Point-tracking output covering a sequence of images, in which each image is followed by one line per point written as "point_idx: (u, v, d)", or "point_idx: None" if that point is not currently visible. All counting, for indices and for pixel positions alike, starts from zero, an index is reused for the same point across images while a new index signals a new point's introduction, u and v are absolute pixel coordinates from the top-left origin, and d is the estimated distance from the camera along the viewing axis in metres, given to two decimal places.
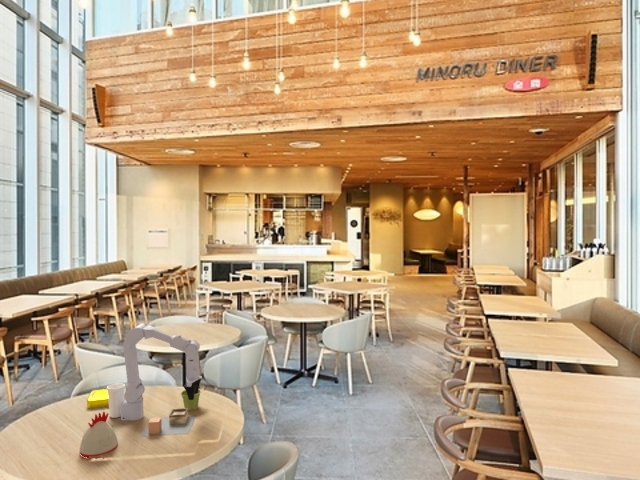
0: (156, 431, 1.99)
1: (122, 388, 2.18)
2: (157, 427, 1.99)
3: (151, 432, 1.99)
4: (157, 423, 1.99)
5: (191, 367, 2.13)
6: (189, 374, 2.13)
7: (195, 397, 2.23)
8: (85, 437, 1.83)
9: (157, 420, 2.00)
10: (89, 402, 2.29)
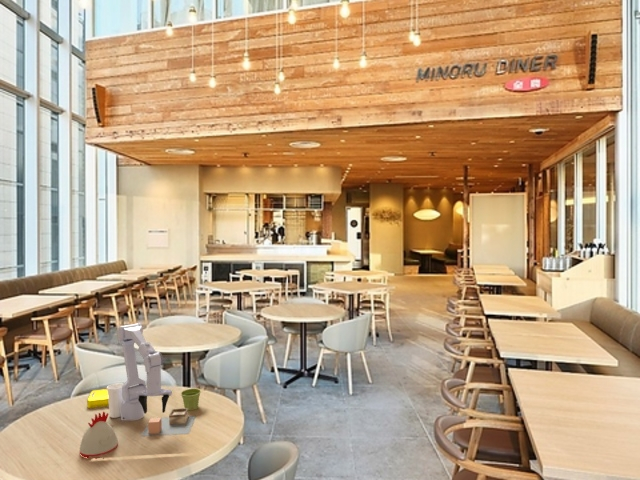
0: (156, 431, 1.99)
1: None
2: (157, 427, 1.99)
3: (151, 432, 1.99)
4: (157, 423, 1.99)
5: (147, 380, 1.98)
6: None
7: (195, 397, 2.23)
8: (85, 437, 1.83)
9: (157, 420, 2.00)
10: (89, 402, 2.29)
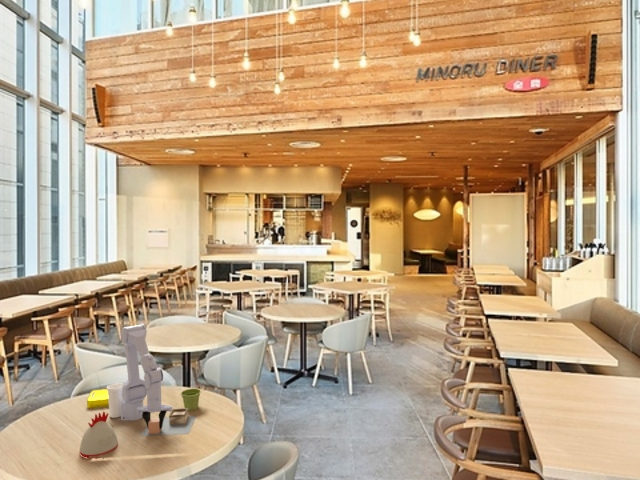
0: (156, 431, 1.99)
1: None
2: (157, 427, 1.99)
3: (151, 432, 1.99)
4: (157, 423, 1.99)
5: (147, 396, 1.98)
6: None
7: (195, 397, 2.23)
8: (85, 437, 1.83)
9: (157, 420, 2.00)
10: (89, 402, 2.29)
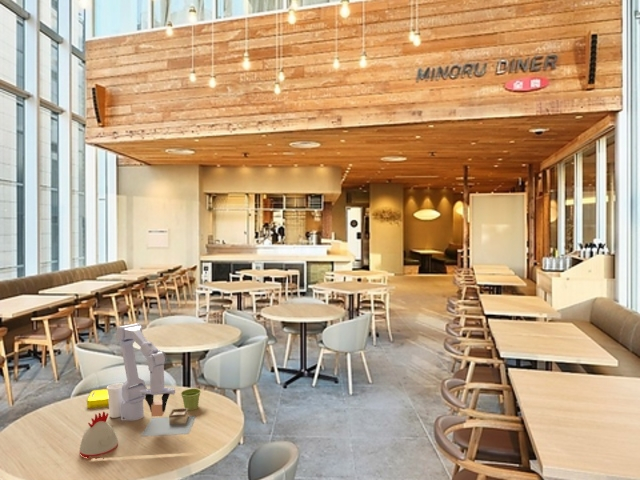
0: (159, 414, 2.00)
1: None
2: (160, 410, 2.00)
3: (154, 415, 2.00)
4: (160, 406, 2.00)
5: (151, 379, 1.99)
6: None
7: (195, 397, 2.23)
8: (85, 437, 1.83)
9: (160, 403, 2.01)
10: (89, 402, 2.29)
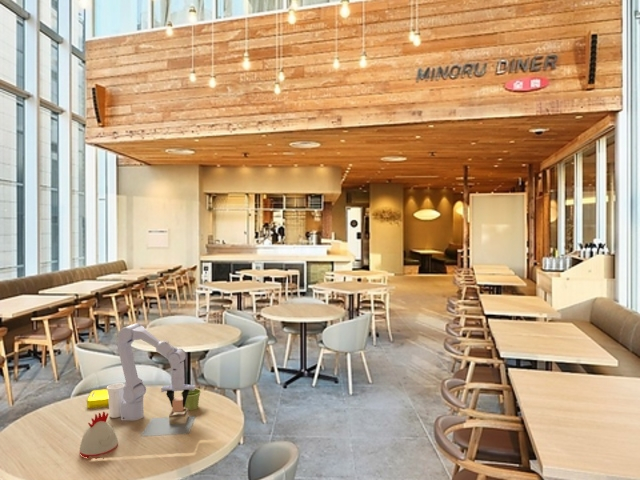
0: (180, 409, 2.09)
1: (122, 388, 2.18)
2: (181, 405, 2.09)
3: (175, 410, 2.09)
4: (181, 401, 2.09)
5: (174, 376, 2.08)
6: None
7: (195, 397, 2.23)
8: (85, 437, 1.83)
9: (180, 399, 2.11)
10: (89, 402, 2.29)
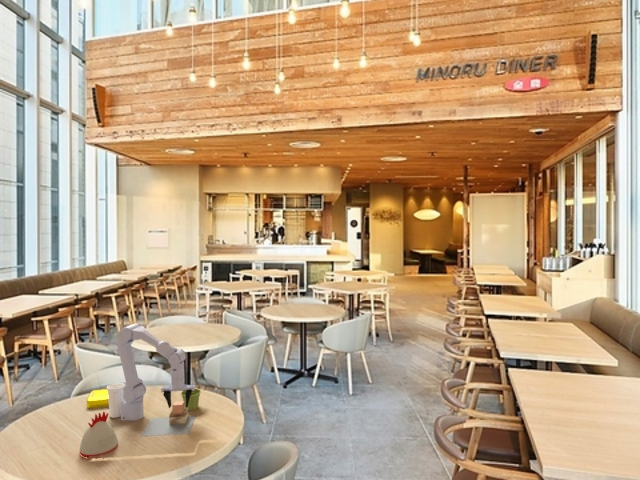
0: (180, 413, 2.09)
1: (122, 388, 2.18)
2: (181, 410, 2.09)
3: (175, 414, 2.09)
4: (181, 406, 2.09)
5: (174, 377, 2.08)
6: None
7: (195, 397, 2.23)
8: (85, 437, 1.83)
9: (180, 403, 2.11)
10: (89, 402, 2.29)
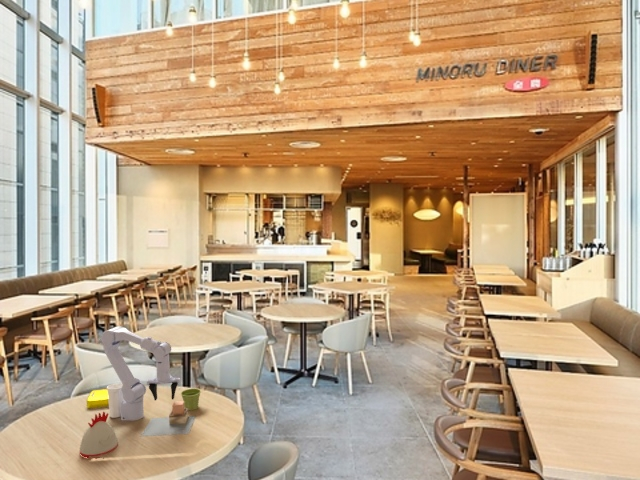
0: (180, 413, 2.09)
1: None
2: (181, 410, 2.09)
3: (175, 414, 2.09)
4: (181, 406, 2.09)
5: (159, 369, 2.09)
6: None
7: (195, 397, 2.23)
8: (85, 437, 1.83)
9: (180, 403, 2.11)
10: (89, 402, 2.29)
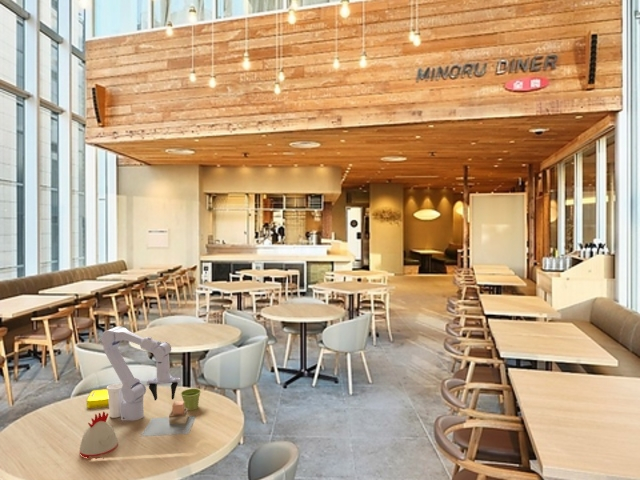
0: (180, 413, 2.09)
1: None
2: (181, 410, 2.09)
3: (175, 414, 2.09)
4: (181, 406, 2.09)
5: (159, 369, 2.09)
6: None
7: (195, 397, 2.23)
8: (85, 437, 1.83)
9: (180, 403, 2.11)
10: (88, 402, 2.29)
